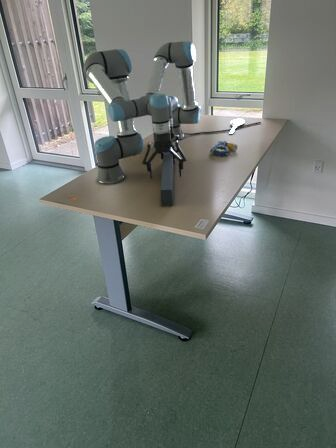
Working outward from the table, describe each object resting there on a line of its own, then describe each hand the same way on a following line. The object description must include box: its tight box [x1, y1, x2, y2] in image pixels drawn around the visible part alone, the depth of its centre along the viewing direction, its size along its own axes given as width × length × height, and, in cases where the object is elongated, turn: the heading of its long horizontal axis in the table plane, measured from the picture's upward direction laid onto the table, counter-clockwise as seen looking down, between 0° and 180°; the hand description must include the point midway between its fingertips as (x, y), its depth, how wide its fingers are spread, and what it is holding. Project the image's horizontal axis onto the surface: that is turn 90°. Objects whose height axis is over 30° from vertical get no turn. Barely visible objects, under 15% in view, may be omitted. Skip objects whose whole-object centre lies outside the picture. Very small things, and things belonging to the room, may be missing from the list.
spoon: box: [228, 118, 245, 135], centre depth 259 cm, size 35×11×2 cm, turn 159°
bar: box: [159, 147, 175, 207], centre depth 181 cm, size 60×5×8 cm, turn 179°
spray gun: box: [209, 140, 238, 157], centre depth 214 cm, size 21×4×15 cm
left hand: (165, 176), depth 157 cm, fingers open, 13 cm apart
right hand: (169, 163), depth 203 cm, fingers closed on bar, 5 cm apart
